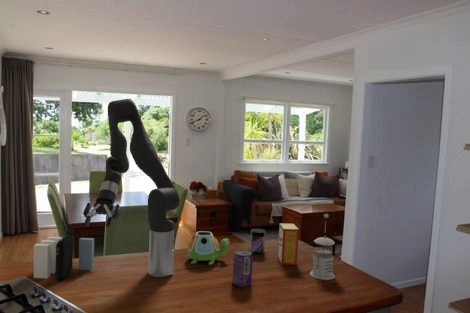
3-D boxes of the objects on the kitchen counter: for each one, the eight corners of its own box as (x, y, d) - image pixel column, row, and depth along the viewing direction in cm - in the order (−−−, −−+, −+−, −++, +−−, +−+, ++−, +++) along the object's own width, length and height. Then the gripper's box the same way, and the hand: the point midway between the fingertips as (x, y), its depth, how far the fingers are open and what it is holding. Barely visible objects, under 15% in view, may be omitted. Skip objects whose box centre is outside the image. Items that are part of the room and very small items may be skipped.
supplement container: (246, 252, 174) (248, 230, 174) (255, 249, 180) (256, 227, 179) (259, 256, 170) (260, 233, 170) (267, 252, 176) (268, 230, 175)
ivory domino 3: (43, 270, 142) (43, 239, 141) (56, 271, 142) (56, 240, 141) (40, 272, 140) (40, 241, 139) (53, 273, 140) (54, 242, 139)
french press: (339, 275, 152) (343, 214, 150) (324, 283, 144) (329, 218, 142) (317, 268, 159) (321, 210, 157) (302, 275, 150) (306, 213, 148)
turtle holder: (231, 265, 158) (232, 237, 157) (188, 265, 155) (189, 237, 154) (226, 254, 170) (228, 229, 169) (186, 255, 167) (187, 229, 166)
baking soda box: (277, 257, 170) (279, 222, 169) (291, 257, 171) (293, 222, 170) (281, 264, 161) (283, 228, 160) (296, 265, 161) (298, 228, 160)
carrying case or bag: (61, 283, 132) (61, 242, 131) (52, 283, 132) (52, 242, 131) (73, 271, 143) (74, 233, 142) (65, 271, 143) (66, 233, 142)
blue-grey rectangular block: (80, 267, 147) (81, 237, 146) (93, 268, 147) (94, 238, 146) (78, 269, 145) (79, 239, 144) (91, 270, 145) (92, 240, 144)
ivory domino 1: (36, 275, 138) (36, 243, 137) (50, 276, 138) (50, 244, 137) (33, 277, 136) (33, 245, 135) (47, 278, 136) (47, 246, 135)
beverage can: (253, 282, 142) (255, 251, 141) (248, 289, 135) (249, 256, 134) (235, 278, 144) (237, 248, 143) (229, 285, 137) (231, 253, 136)
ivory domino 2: (49, 266, 147) (49, 236, 146) (61, 267, 147) (62, 237, 146) (46, 268, 145) (46, 237, 144) (59, 269, 145) (59, 238, 144)
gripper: (89, 187, 163) (77, 220, 152) (122, 189, 162) (112, 222, 152) (94, 197, 168) (82, 229, 158) (125, 199, 168) (116, 231, 157)
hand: (97, 226), depth 155 cm, fingers open, 8 cm apart
